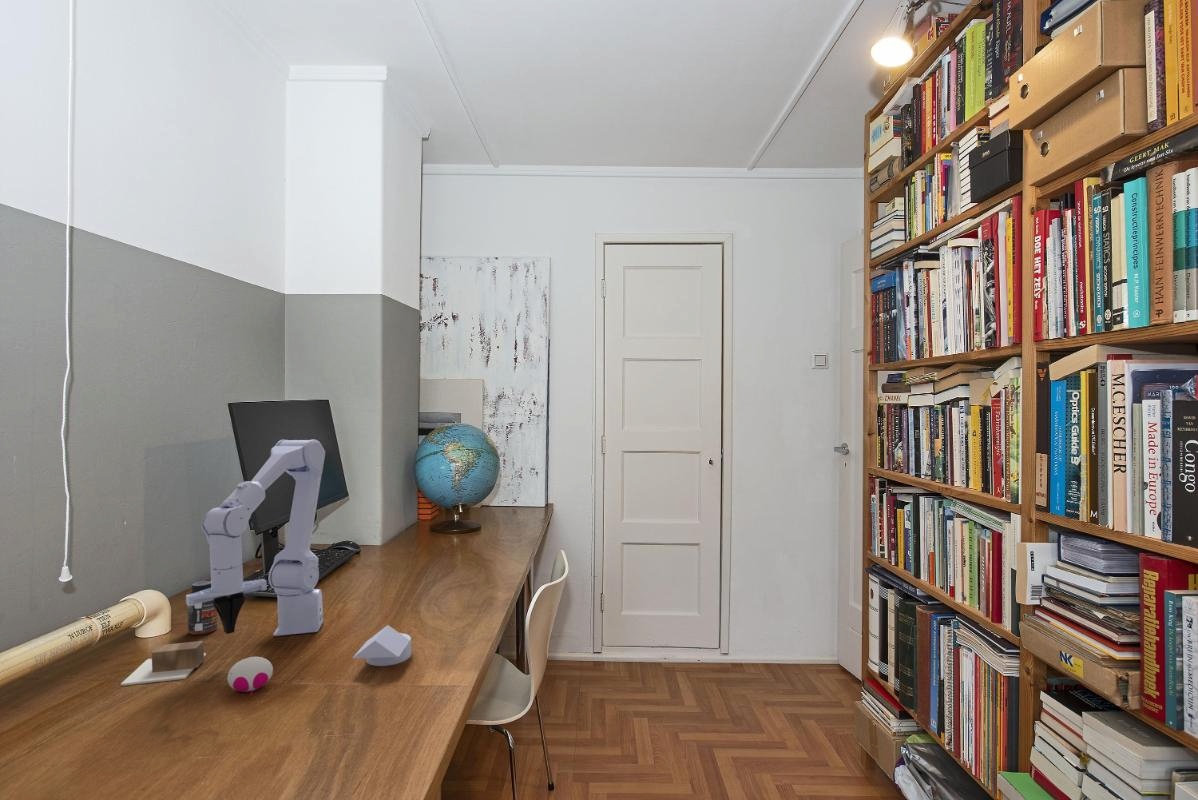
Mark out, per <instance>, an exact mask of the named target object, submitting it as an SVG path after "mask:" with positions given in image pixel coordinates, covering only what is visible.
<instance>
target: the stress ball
mask: <svg viewBox="0 0 1198 800" xmlns="http://www.w3.org/2000/svg"><path fill="white" fill-rule="evenodd" d="M273 672H274V667H273V664H272V663H271V661H269V659H267V658H264V657H261V656H250V657H247V658H243V659H241V660H239V661H237V662H236V663H235V664H234V665H232V667H230V669H229V671H228V673H227V676H226V677H227V684H228V685H229V686H230V688H232V689H233V690H235V691H239V692H242V693H243V692H244V693H245V692H250V696H252V694H253V691H256V690H258V689H261V687H264V685H266V684H267V683H268V682H269V681H270V679H271V678H272V677H273Z"/></svg>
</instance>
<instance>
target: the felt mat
mask: <svg viewBox="0 0 1198 800" xmlns="http://www.w3.org/2000/svg"><path fill="white" fill-rule="evenodd" d="M206 656H207V653H206V652H204V658H205V657H206ZM194 669H195V668H192V669H182V670H173V671H163V672H154V673H152V658H148V659H146V660H145V661H144V662H143V663H141V664H140V666H138V667H137V668H136V669H135V670H134V671H132V673H131V674H130V675H129V676H128V677H126V679H124V680H122V682H121V683H120V686H121V687H122V686H124V687H125V686H131V685H132V686H133V685H140V684H142V685H143V684H149V683H157V682H158V683H159V682H167V681H168V682H170V681H177V680H179V681H180V680H185V679H186V678H187V677H189V675H190V674H191V673H192V672H193V671H194Z"/></svg>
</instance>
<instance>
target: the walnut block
mask: <svg viewBox="0 0 1198 800" xmlns="http://www.w3.org/2000/svg"><path fill="white" fill-rule="evenodd" d="M204 648H205V647H204V640H199V641H188V642H186V641H185V642H179V643H167V644H159V645H158V646H157V647H156V648H155V649H154V650H153V651H151V659H152V673H154V672H163V671H173V670H182V669H192V668H194V669H198V668H199V667H200V665H201V664H202V663H203V662H204V661H205V657H204V653H205V650H204Z"/></svg>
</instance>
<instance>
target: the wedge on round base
mask: <svg viewBox="0 0 1198 800" xmlns="http://www.w3.org/2000/svg"><path fill="white" fill-rule="evenodd" d="M411 656H412V638H411V635H408V634H407V633H403V632H399V631H397V630H396V629H394V628H393V627H392V626H390V625H389V624H387V625H386V626H385V627H383V628H382V629H381V630H379V631H377V633H376V634H374V635H373V636H372V637H371V638H369V639H368V640H367V641H365V642H364V644H363V645H362V646H361V647H360V649H359V650H358V651H357V652H356V653H355V654H354V656H352V659H365V663H367V664H368V665H370V666H376V667H385V666H392V665H398V664H401V663H402V662H405V661H407V660H408V659H409V658H411Z"/></svg>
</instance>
